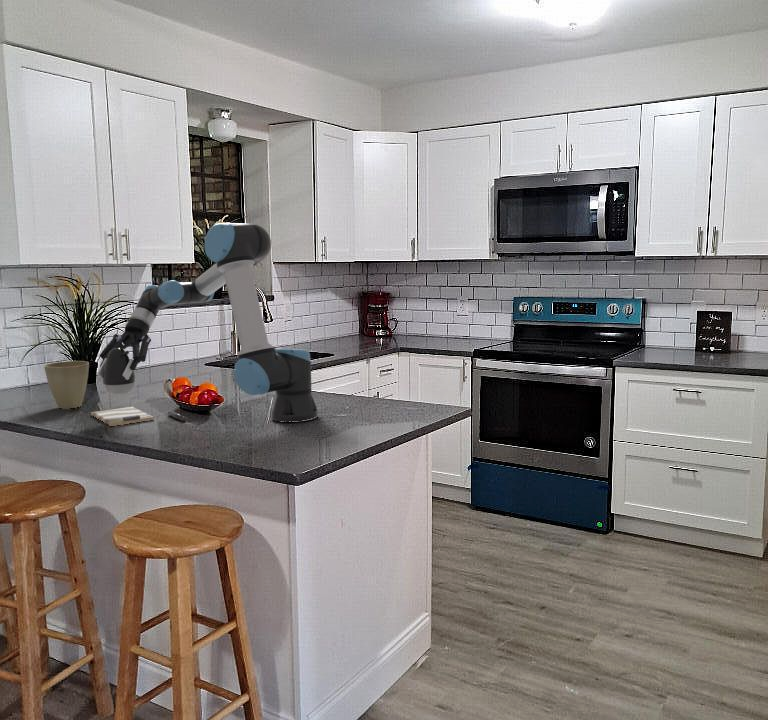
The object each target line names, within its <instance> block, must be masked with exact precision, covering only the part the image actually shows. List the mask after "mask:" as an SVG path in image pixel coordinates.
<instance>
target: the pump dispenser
mask: <svg viewBox="0 0 768 720" xmlns="http://www.w3.org/2000/svg"><path fill="white" fill-rule="evenodd" d="M129 353H130V351H129V350H125V349H121V348H114V349H112V350H111V351H110V352H109V354H108V356H107V359H106V362H105V366H104V373H103V379H102V382H103V383H102V384H103V385H104V388H105V389H106V391H107V392H108V393H109V394H112V395H124V394H128V393H129V392H131V391H132V390H133V389H134V386H135V383H136V375H135V370H133V372H132V374H131V376H130V378H129V380H126V379H125V377H124V376H123V373H124V371H125V369H126V367H127V365H128V363H129V361H130V357H129V355H130V354H129Z"/></svg>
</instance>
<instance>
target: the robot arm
mask: <svg viewBox="0 0 768 720" xmlns="http://www.w3.org/2000/svg"><path fill="white" fill-rule="evenodd" d="M271 249H272V240H271V237H270V234H269V233H268V231H267V230H266V229H265V228H263V226H260V225H259V224H256V223H236V222H233V223H232V222H225V223H223V222H222V223H221V222H220V223H216V224H214V225H212V226H211V227H210V228H209V229H208V231H207V233H206V236H205V238H204V252H205V254H206V256H207V258H208V259H209V260H210V261H211V262H214V264H213V265H212V266H211V267H210V268H208V269H207V270H206V271H204V272H203V273H202V274H201V275H199V276H198V277H197V278H195V279H194V280H192V281H190V282H189V281H188V282H187V281H186V282H179V281H178V280H174V279H171V280H168V281H165V282H163V283H161V284H160V285H155V284H153V285H152V284H149V285H147V286H146V287H145V288H144V290H143V291H142V293H141V296H140V298H139V299H138V302H137V304H136V306H135V308H134V310H133V311H132V313H131V314H130V316H129V319H128V321H127V322H126V325H125V327H124V332H123V333H122V334H120V335H118V333H115V334H113V336H112V338H111V340H110V342H108V344H107V345H106V346H105V347H104V349H103V350H102V351H101V353H100V354H99V357H100V358H101V359H102V361H101V363H100V365H99V368H98V371H97V373H96V375H98V377H99V378H100V379H102V380H103V373H104V366H105V362H106V359H107V356H108V354H109V352H110V351H111V350H112V349H114V348H121V349H123V350H126V349H127V348H130V347H131V348H132V358H131V359H130V358H129V359H130V361H129V363H128V365H127V367H126V369H125V371H124V373H123V376H124V377H125V379H126V380H129V378H130V376H131V374H132V372H133V370H134V371H135V370H136V368H137V367H138V364H140V363H141V362H142V363H144V362H145V361H146V359H147V353H148V349H149V345H150V343H151V342H152V339H151V337H150V336H149V334H148V333H149V331H150V328H151V326H152V325H153V323H154V321H155V319H156V317H157V316H158V313H159V311H161V310H163V309H166V308H167V307H169V306H174V305H175V306H176V305H187V304H189V305H190V304H204V303H209V302H211V301H212V300H213V299H214V295H215V292H217V291H218V290H219V289H220V288H222V287H224V286H225V285H226V290H227V294H228V297H229V302H230V306H231V310H232V315H233V320H234V324H235V328H236V332H237V336H238V340H239V341H238V342H239V345H240V351H238V353H237V359H238V360H237V361H236V362H235V364H234V369H233V377H234V380H235V383H236V386H238V388H239V389H240V390H241V391H242V392H243V393H245V394H246V395H250V396H257V395H259V396H260V395H261V396H262V395H265V394H268V393H272V392H275V398H274V402H273V406H272V409H271V412H270V413H271V414H270V415H271V417H270V418H271V420H272V419H273V420H275V421H274V422H276V421H284V422H285V421H286V422H289V421H291V422H292V421H302V420H307V419H311V418H314V417H316V416H317V415H319V413H318V412H319V411H318V408H317V405H316V402H315V399H314V397H313V394H312V393H313V392H312V360H311V353H310V351H308V350H307V349H302V348H301V349H299V348H288V347H276V348H275V346H274V345H272V344H271V343H270V342H269V341H268V339H269V338H268V335H267V332H266V331H267V330H266V326H265V321H264V318H263V314H262V310H261V305H260V301H259V297H258V291H257V287H256V284H255V279H254V275H253V271H252V269H253V268H252V267H255V266H257V265H258V264H259V263H262V261H263V260H265V259H266V258H267V257H268V255H269V253H270V252H271ZM140 343H141V345H140ZM273 420H272V421H273Z"/></svg>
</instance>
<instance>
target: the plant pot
mask: <svg viewBox="0 0 768 720" xmlns="http://www.w3.org/2000/svg"><path fill="white" fill-rule="evenodd" d="M89 368H90V363H89V361H85V360H69V361H67V360H66V361H57V362H51V363H47V364H44V365H43V369H44V372H45V376H46V379H47V383H48V386H49V389H50V391H51V395H52V397H53V399H54V401H55V403H56V406H58V409H59V408H62V409H61V410H71V409H70V408H75V409H78V408H77V407H79V408H80V406H81V407H82V404H83V401H84V397H85V394H86V390H87V386H88V385H87V384H88V378H89Z"/></svg>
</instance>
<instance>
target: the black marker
mask: <svg viewBox="0 0 768 720" xmlns="http://www.w3.org/2000/svg"><path fill="white" fill-rule="evenodd" d="M167 415H168V416H169V417H172V418H174V419H177V420H178V421H181V422H183V421H184V422H186V421H187V417H186V416H184V415H182V414H179V413H177V412H174V411H172V410H169V411H168V412H167Z"/></svg>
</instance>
